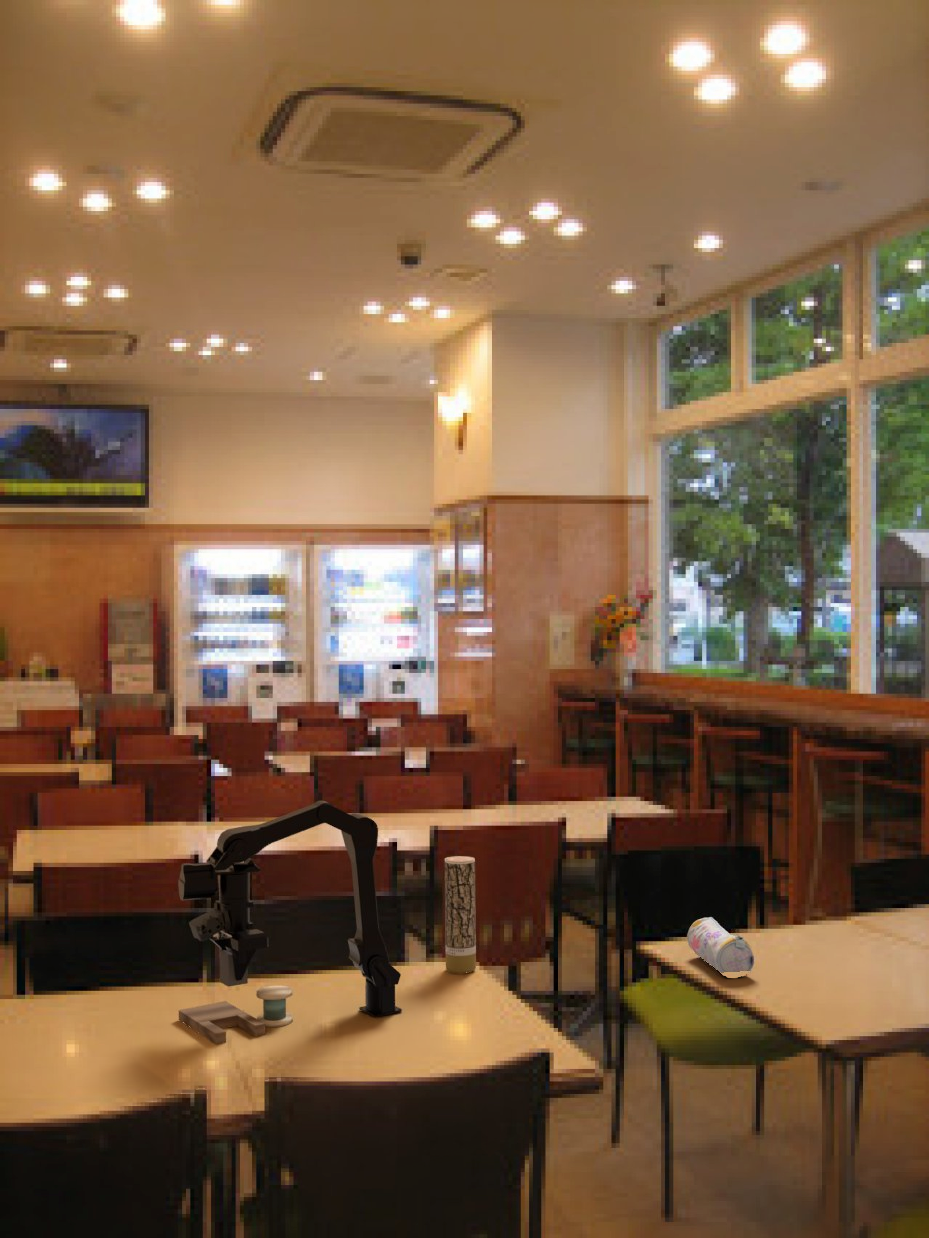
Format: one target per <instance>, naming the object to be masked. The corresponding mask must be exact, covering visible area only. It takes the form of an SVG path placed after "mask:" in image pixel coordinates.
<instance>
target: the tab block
mask: <svg viewBox="0 0 929 1238" xmlns="http://www.w3.org/2000/svg"><path fill="white" fill-rule="evenodd" d="M226 949H227V948H226ZM248 970H249V969H248V968H247V970H246V972H245V974H244V976H243V978H242V980H239V981H237V980H236V977H235V971H234V963H233V955H232V953H231V952H230V951H229V950H228V949H227V950H220V949H219V983H221V984H223V985H224V986H225V987H228V988H229V987H234V986H240V985H247V984H249V983H248V982H249V981H248V973H249V971H248Z"/></svg>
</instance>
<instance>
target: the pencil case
mask: <svg viewBox="0 0 929 1238" xmlns="http://www.w3.org/2000/svg"><path fill="white" fill-rule="evenodd" d="M687 931H688V932H687V935H686V940H687V941H686V942H687V943H688V947H689V949H690V950H693V951H694V952H695V953H694V954H695V955H697V956H698V957H699V956H700V957H701V958H703V959H704V960H705V961H707V962H708V963H709V964H711V965H712V966H714V968H715V969H717V970H718V971H719V972H721V973H724V972H740V971H750V972H751V971H752V969H753V967H754V964H755V956H754V953H753V950H752V948H751V946H750V944H749V943H748V941H747V940H746V939H745V938H744V937H742V936H739V933H735V934H734V935H733V934H730V933H729V932H728V931H727V930H726V929H725V928H723V926H721V925H720V923H718V921H717V920H715V919H714V917H712V916H710V917H703V918H700V919H697V920H695V921H694V922H693V923H692V924H691V926H690V927H689V929H688V930H687ZM693 951H692V952H693ZM700 957H699V958H700ZM701 958H700V959H701ZM704 960H703V961H704ZM705 961H704V962H705ZM714 968H713V969H714ZM715 969H714V970H715Z"/></svg>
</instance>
